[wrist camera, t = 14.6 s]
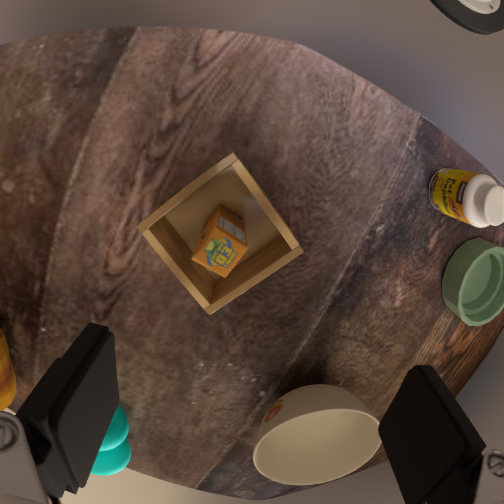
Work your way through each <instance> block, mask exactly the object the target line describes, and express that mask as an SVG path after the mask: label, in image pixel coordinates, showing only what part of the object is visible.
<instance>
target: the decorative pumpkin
mask: <svg viewBox="0 0 504 504" xmlns="http://www.w3.org/2000/svg"><path fill="white" fill-rule="evenodd" d="M15 394H16V376H15V372H14V368H13V365H12V362H11V359H10V355H9V349H8V345H7V341H6V338H5V334H4V331H3V330H2V329H1V328H0V411H2V410H4V409H5V408H6V407H8V406H9V405H10V404H11V403H12V401H13V398H14V396H15Z"/></svg>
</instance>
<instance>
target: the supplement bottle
mask: <svg viewBox="0 0 504 504" xmlns="http://www.w3.org/2000/svg"><path fill="white" fill-rule="evenodd" d="M429 198H430V201H431V203H432V205H433V206H434V208H435V209H436V210H438V211H439V212H441V213H444V214H446V215H449V216H451V217H454V218H456V219H459V220H461V221H463V222H466V223H468V224H470V225H473V226H475V227H479V228H483V227H486V226H488V225H494V226H497V225H500V224H501V223H502V222H503V221H504V188H503V187H501V186H499V185H497V183H496V182H495V180H494V179H493V178H491V177H490V176H488V175H485V174H480V173H474V172H469V171H463V170H457V169H452V168H443V169H440V170H439V171H437V172H436V173H435V174H434V175H433V177H432V178H431V181H430V184H429Z"/></svg>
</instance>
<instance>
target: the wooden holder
mask: <svg viewBox="0 0 504 504" xmlns="http://www.w3.org/2000/svg"><path fill="white" fill-rule="evenodd" d="M218 204H222V205H224V206H225V207H226V208H228V209H229V210H231V211H232V212H234V213H235V214H236V215H238V216H239V217H240V218H242V219H243V220H244V225H245V230H246V237H247V243H248V249H247V250H246V252H245V253H244V254H243V256H242V257H241V258H240V260H239V261H238V262H237V264H236V265H235V266H234V268H233V269H232V270H231V272H230V273H229V274H228V276H227V277H226V278H224V277H222V276H221V275H219V274H217V273H216V272H214V271H212V270H210V269H208V268H206V267H205V266H203V265H201V264H199V263H197V262H195V261H193V260H192V254H193V251H194V248H195V245H196V242H197V240H198V237H199V234H200V232H201V229H202V227H203V225H204V224H205V223H206V221H207V220H208V218H209V217H210V215H211V214H212V212H213V211H214V210H215V208H216V207H217V205H218ZM137 228H138V229H139V230H140V231H141V233H142V234H143V236H144V237H145V238H146V239H147V241H148V242H149V243H150V244H151V246H152V247H153V248H154V250H155V251H156V252H157V253H158V255H159V256H160V257H161V258H162V260H163V261H164V262H165V263H166V264H167V266H168V267H169V268H170V269H171V271H172V272H173V273H174V274H175V275H176V277H177V278H178V279H179V280H180V282H181V283H182V284H183V285H184V286H185V288H186V289H187V290H188V291H189V292H190V293H191V295H192V296H193V297H194V298H195V299H196V301H197V302H198V303H199V304H200V305H201V306H202V308H203V309H204V310H205V311H206V312H207V313H208V314H209V315H210V314H212V313H213V312H215V311H216V310H218V309H219V308H221V307H222V306H224V305H225V304H227V303H229V302H230V301H232V300H233V299H235V298H236V297H238V296H239V295H241V294H242V293H244V292H245V291H247V290H248V289H250V288H251V287H253V286H254V285H256V284H257V283H259V282H260V281H262V280H263V279H265V278H266V277H268V276H269V275H271V274H272V273H274V272H275V271H277V270H278V269H280V268H281V267H283V266H284V265H286V264H287V263H289V262H290V261H292V260H293V259H295V258H296V257H298V256H299V255H300V254H302V253H303V252H304V250H303V248H302V247H301V245H300V243H299V242H298V240H297V238H296V237H295V235H294V233H293V232H292V230H291V229H290V228H289V226H288V225H287V223H286V222H285V220H284V219H283V217H282V216H281V215H280V213H279V212H278V210H277V209H276V208H275V206H274V205H273V203H272V202H271V200H270V199H269V198H268V196H267V195H266V193H265V192H264V191H263V189H262V188H261V186H260V185H259V184H258V182H257V181H256V180H255V178H254V177H253V175H252V174H251V173H250V171H249V170H248V169H247V167H246V166H245V164H244V163H243V162H242V160H241V159H240V158H239V156H238V155H237V154H236V152H232V153H230V154H229V155H227V156H226V157H225V158H223V159H222V160H220V161H219V162H218V163H216V164H215V165H214V166H212V167H211V168H210V169H208V170H207V171H206V172H204V173H203V174H202V175H200V176H199V177H198V178H196V179H195V180H194V181H192V182H191V183H190V184H188V185H187V186H186V187H184V188H183V189H182V190H181V191H179V192H178V193H177V194H175V195H174V196H173V197H172V198H170V199H169V200H168V201H167V202H165V203H164V204H163V205H162V206H160V207H159V208H158V209H157V210H155V211H154V212H153V213H152V214H151V215H149V216H148V217H147V218H146V219H144V220H143V221H142V222H141V223H140V224H138V225H137Z"/></svg>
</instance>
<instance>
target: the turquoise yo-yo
mask: <svg viewBox="0 0 504 504" xmlns="http://www.w3.org/2000/svg"><path fill="white" fill-rule="evenodd" d="M128 430H129V422H128V418H127V416H126V414H125V412H124V411H123V410H122V409H121V408H120V407H119V406H117V409H116V411H115V414H114V416H113V418H112V421H111V423H110V425H109V428H108V430H107V433H106V435H105V437H104V440H103V442H102V445H101V447H100V450H99V452H98V455H97V457H96V460H95V462H94V465H93V467H92V470H91V472H90V473H93V474H96V475H112V474H115V473H117V472H119V471H121V470H122V469H123V468H125V467H126V465H127V464H128V462H129V460H130V456H131V450H130V446H129V443H128V441H127V440H126V436H127V434H128Z"/></svg>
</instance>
